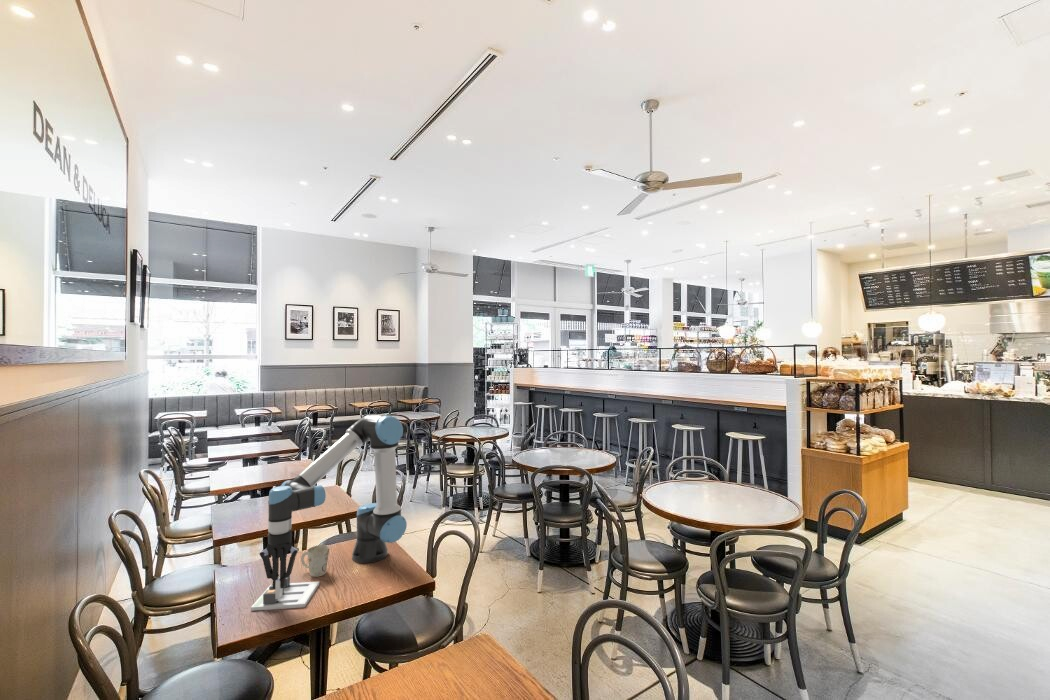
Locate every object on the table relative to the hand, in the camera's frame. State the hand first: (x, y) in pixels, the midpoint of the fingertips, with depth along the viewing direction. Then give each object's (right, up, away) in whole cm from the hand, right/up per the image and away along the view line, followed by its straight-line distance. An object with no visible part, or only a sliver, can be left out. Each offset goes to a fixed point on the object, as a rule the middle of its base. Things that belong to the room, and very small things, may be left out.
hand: (278, 596), depth 167 cm
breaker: (-3, -2, 0) cm, 3 cm away
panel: (0, -3, +6) cm, 7 cm away
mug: (+1, -4, +26) cm, 26 cm away
